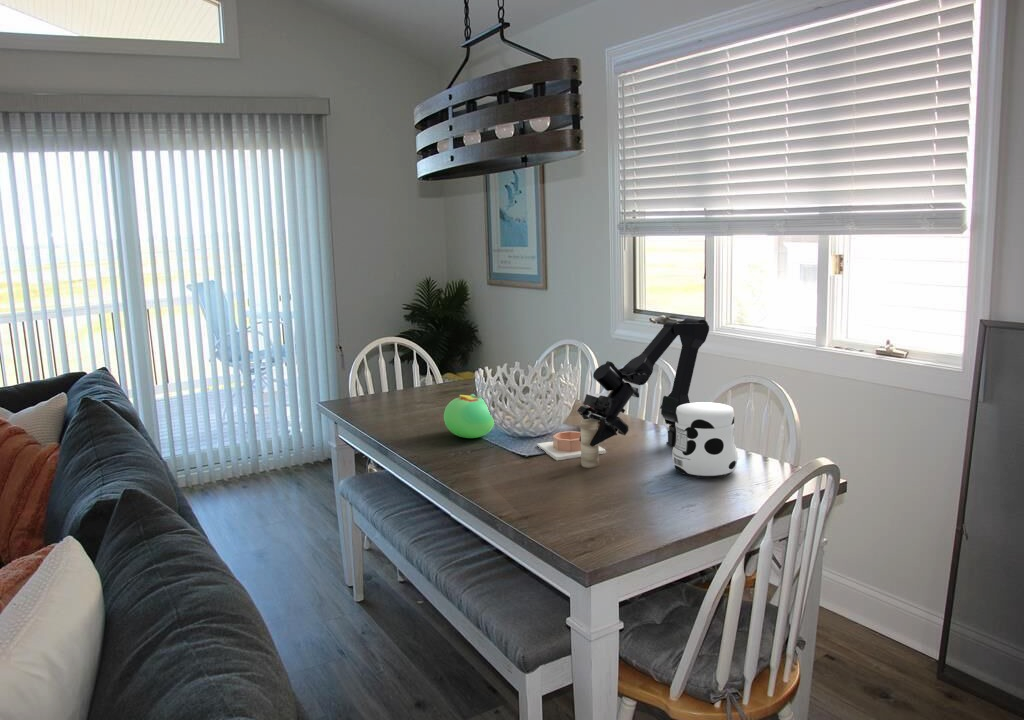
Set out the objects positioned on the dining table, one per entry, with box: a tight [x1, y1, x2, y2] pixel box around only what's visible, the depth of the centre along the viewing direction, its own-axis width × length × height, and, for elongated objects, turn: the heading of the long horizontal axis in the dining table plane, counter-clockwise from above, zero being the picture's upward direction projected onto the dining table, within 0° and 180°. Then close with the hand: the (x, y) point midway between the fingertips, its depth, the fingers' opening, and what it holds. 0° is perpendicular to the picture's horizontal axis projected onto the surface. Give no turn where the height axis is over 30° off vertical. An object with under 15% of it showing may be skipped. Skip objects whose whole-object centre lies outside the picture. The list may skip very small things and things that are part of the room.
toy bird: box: [443, 393, 496, 439], centre depth 255 cm, size 18×17×15 cm
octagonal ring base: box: [536, 430, 607, 461], centre depth 237 cm, size 16×16×4 cm
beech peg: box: [579, 419, 600, 469], centre depth 221 cm, size 5×5×13 cm
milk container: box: [671, 401, 738, 479], centre depth 210 cm, size 17×17×18 cm
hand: (585, 443), depth 220 cm, fingers closed on beech peg, 5 cm apart
